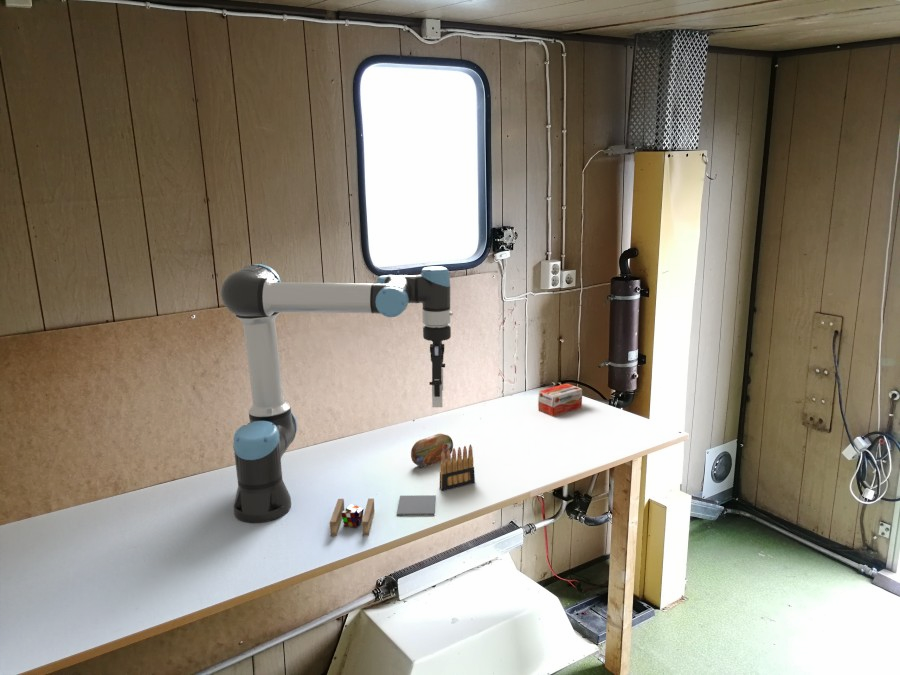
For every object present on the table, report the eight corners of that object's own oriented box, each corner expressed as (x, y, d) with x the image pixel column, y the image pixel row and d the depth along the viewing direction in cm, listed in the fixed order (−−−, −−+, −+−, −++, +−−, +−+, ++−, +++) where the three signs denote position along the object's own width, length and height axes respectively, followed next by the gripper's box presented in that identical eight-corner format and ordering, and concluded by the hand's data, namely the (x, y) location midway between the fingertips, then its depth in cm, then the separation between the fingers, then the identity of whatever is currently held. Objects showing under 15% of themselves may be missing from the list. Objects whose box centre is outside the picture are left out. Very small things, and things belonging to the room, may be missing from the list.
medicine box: (552, 417, 249) (553, 396, 247) (537, 411, 256) (538, 390, 254) (582, 408, 258) (583, 388, 256) (567, 402, 264) (567, 382, 262)
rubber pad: (396, 515, 183) (396, 513, 182) (400, 497, 192) (400, 495, 192) (434, 515, 182) (434, 513, 182) (435, 497, 192) (435, 495, 192)
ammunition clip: (442, 491, 196) (441, 452, 193) (439, 488, 197) (438, 450, 194) (475, 483, 200) (474, 444, 197) (472, 480, 202) (471, 442, 199)
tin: (415, 470, 209) (414, 445, 206) (409, 467, 211) (408, 442, 209) (454, 457, 218) (453, 432, 216) (447, 453, 220) (447, 429, 218)
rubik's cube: (356, 531, 177) (358, 514, 175) (339, 525, 178) (341, 508, 177) (363, 523, 180) (365, 507, 179) (347, 517, 182) (348, 501, 180)
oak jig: (330, 536, 173) (329, 521, 172) (339, 512, 185) (338, 498, 184) (368, 535, 173) (367, 521, 172) (374, 512, 185) (373, 498, 184)
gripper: (450, 335, 174) (451, 414, 179) (450, 313, 198) (451, 383, 203) (420, 336, 174) (422, 414, 179) (424, 314, 198) (426, 383, 203)
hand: (438, 398), depth 191 cm, fingers open, 13 cm apart
